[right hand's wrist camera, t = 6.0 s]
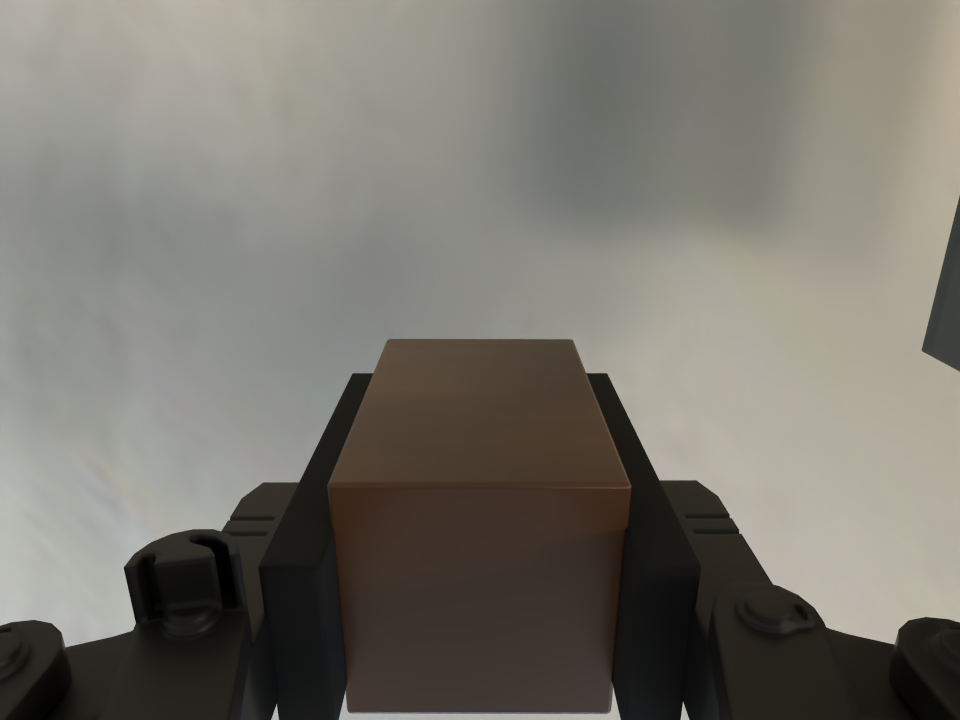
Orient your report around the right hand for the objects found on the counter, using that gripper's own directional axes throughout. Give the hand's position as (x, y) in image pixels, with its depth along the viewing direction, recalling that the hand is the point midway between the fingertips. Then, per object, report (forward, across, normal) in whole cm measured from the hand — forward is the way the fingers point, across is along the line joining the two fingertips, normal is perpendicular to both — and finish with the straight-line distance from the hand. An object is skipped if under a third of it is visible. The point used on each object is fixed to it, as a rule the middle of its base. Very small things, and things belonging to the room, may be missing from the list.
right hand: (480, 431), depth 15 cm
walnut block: (0, 0, 0) cm, 0 cm away
